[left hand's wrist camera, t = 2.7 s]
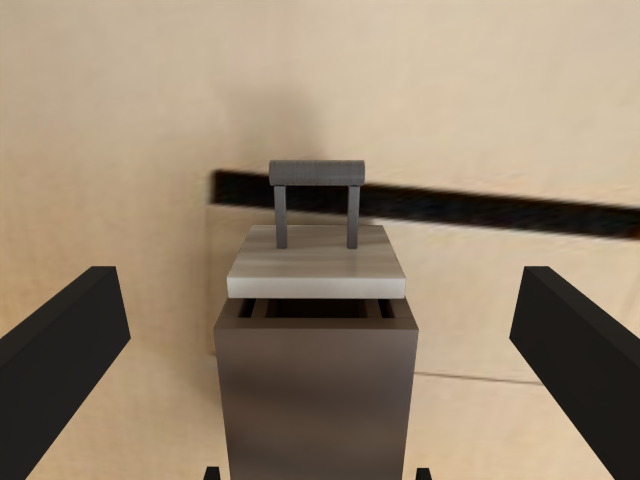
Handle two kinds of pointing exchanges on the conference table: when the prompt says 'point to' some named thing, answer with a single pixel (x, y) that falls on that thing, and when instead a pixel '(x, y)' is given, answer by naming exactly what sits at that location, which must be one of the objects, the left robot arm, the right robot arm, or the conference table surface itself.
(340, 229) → the drawer
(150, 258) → the conference table surface
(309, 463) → the wooden storage box
